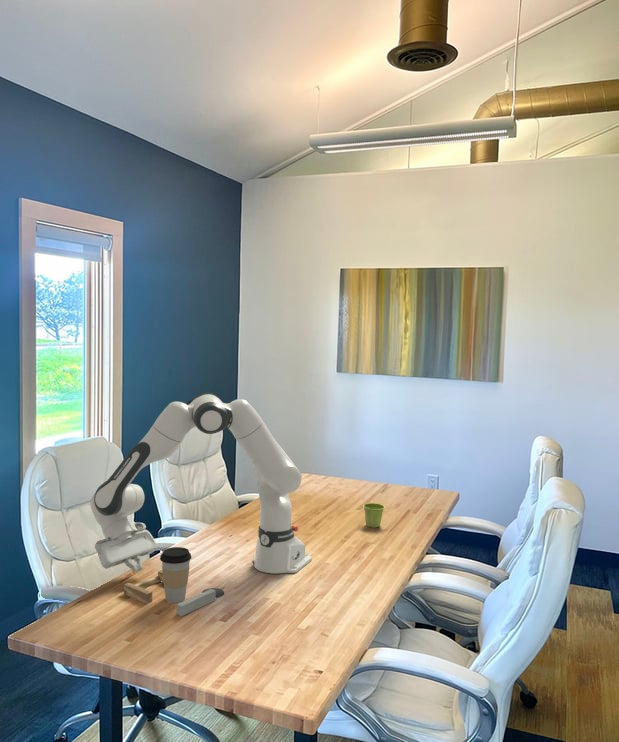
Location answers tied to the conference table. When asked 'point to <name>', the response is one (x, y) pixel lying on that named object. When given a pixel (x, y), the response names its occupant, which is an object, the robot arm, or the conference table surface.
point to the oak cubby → (138, 590)
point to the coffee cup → (175, 573)
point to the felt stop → (196, 602)
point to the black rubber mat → (218, 592)
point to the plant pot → (373, 514)
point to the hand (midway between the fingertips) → (138, 570)
